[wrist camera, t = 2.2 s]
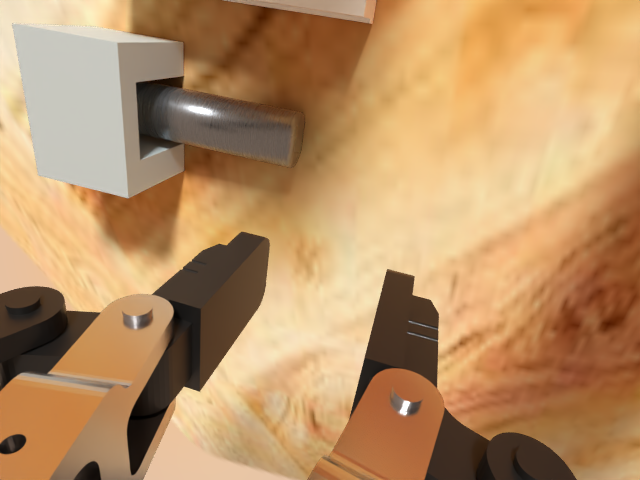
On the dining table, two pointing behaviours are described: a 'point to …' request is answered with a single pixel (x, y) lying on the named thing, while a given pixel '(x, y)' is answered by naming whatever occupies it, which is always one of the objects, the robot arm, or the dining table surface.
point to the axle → (220, 123)
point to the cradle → (323, 7)
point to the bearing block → (95, 105)
